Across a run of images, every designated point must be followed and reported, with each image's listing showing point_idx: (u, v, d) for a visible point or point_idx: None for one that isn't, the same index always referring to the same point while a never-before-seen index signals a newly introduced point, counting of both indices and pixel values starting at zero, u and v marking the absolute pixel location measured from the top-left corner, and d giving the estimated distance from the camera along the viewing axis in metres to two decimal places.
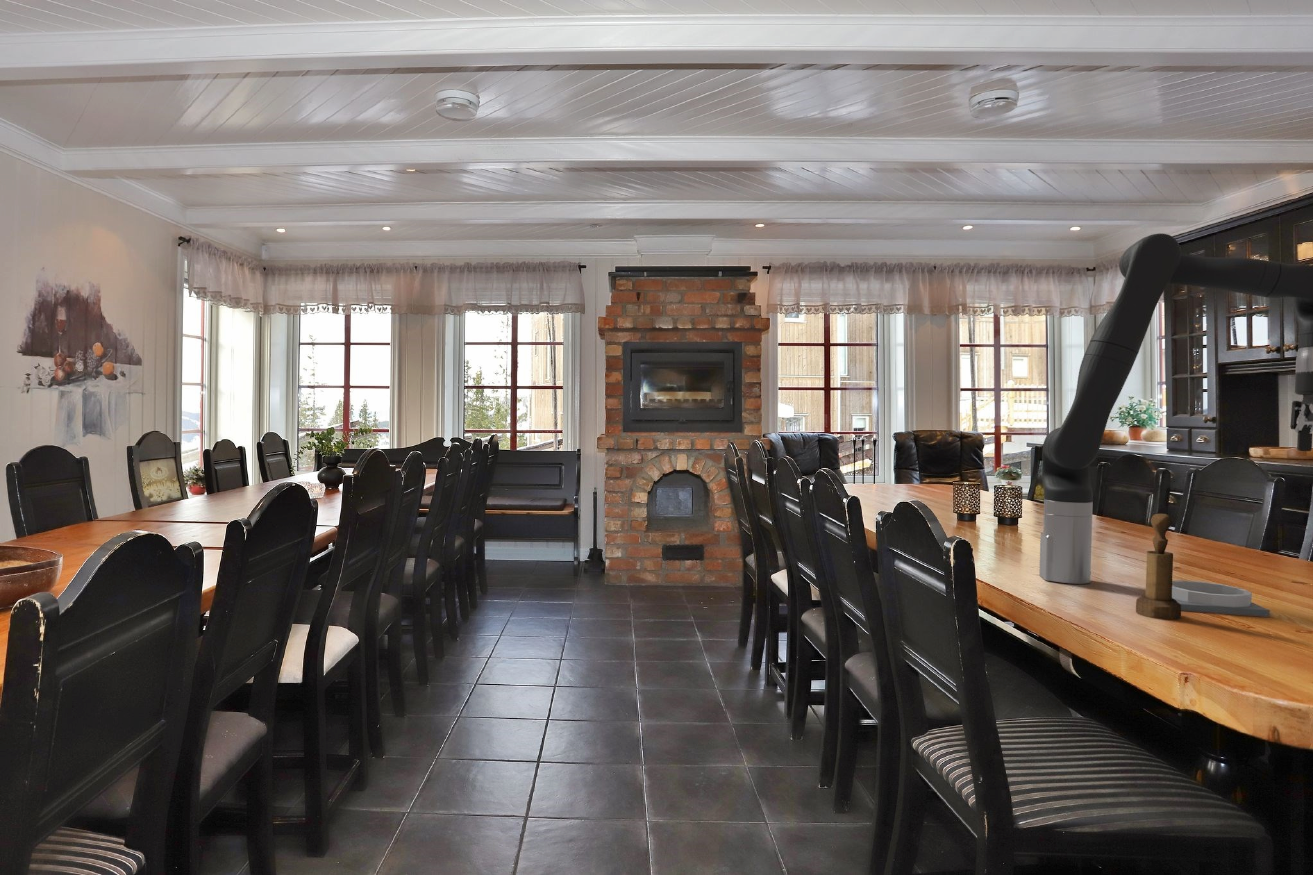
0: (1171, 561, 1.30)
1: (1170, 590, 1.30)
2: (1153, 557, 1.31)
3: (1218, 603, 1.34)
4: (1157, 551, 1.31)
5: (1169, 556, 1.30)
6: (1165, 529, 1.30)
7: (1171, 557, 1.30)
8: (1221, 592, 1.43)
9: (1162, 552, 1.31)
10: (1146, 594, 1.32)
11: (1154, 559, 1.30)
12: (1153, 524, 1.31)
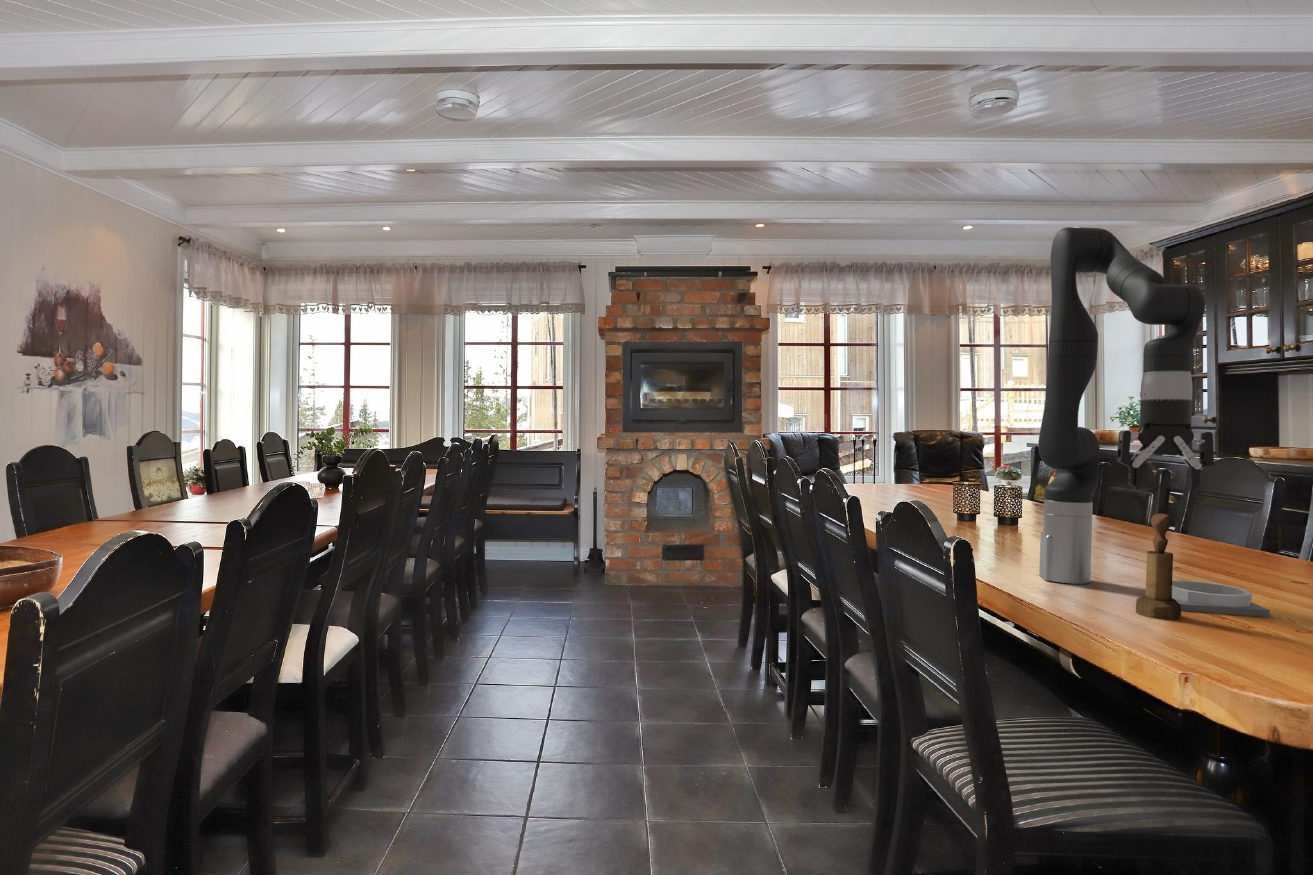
0: (1171, 561, 1.30)
1: (1170, 590, 1.30)
2: (1153, 557, 1.31)
3: (1218, 603, 1.34)
4: (1157, 551, 1.31)
5: (1169, 556, 1.30)
6: (1165, 529, 1.30)
7: (1171, 557, 1.30)
8: (1221, 592, 1.43)
9: (1162, 552, 1.31)
10: (1146, 594, 1.32)
11: (1154, 559, 1.30)
12: (1153, 524, 1.31)
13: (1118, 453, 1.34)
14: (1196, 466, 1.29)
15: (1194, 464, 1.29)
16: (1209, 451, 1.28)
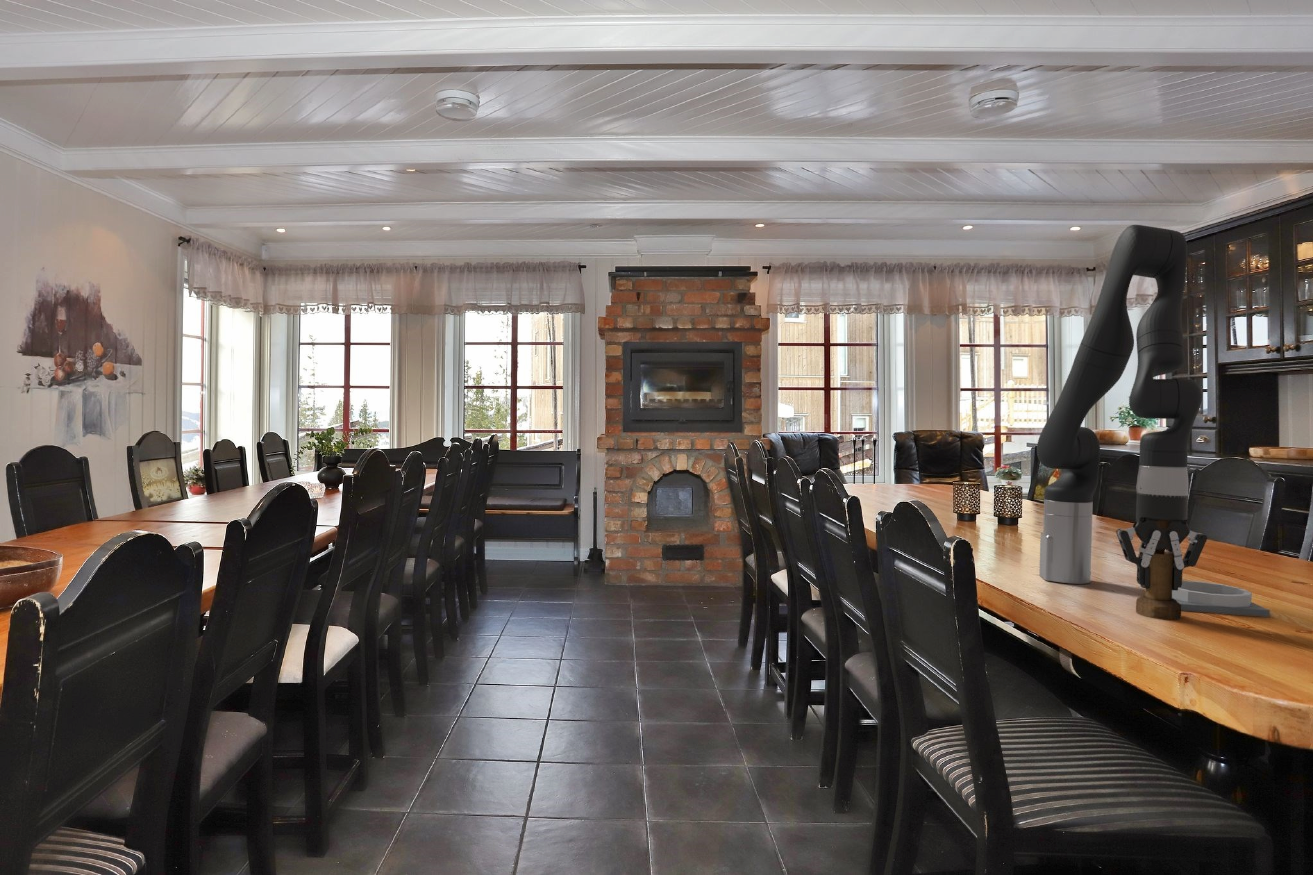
0: (1171, 561, 1.30)
1: (1170, 590, 1.30)
2: (1153, 557, 1.31)
3: (1218, 603, 1.34)
4: (1157, 551, 1.31)
5: (1169, 556, 1.30)
6: None
7: (1171, 557, 1.30)
8: (1221, 592, 1.43)
9: (1162, 552, 1.31)
10: (1146, 594, 1.32)
11: (1154, 559, 1.30)
12: None
13: (1124, 552, 1.34)
14: (1178, 566, 1.30)
15: (1176, 564, 1.30)
16: (1196, 553, 1.29)
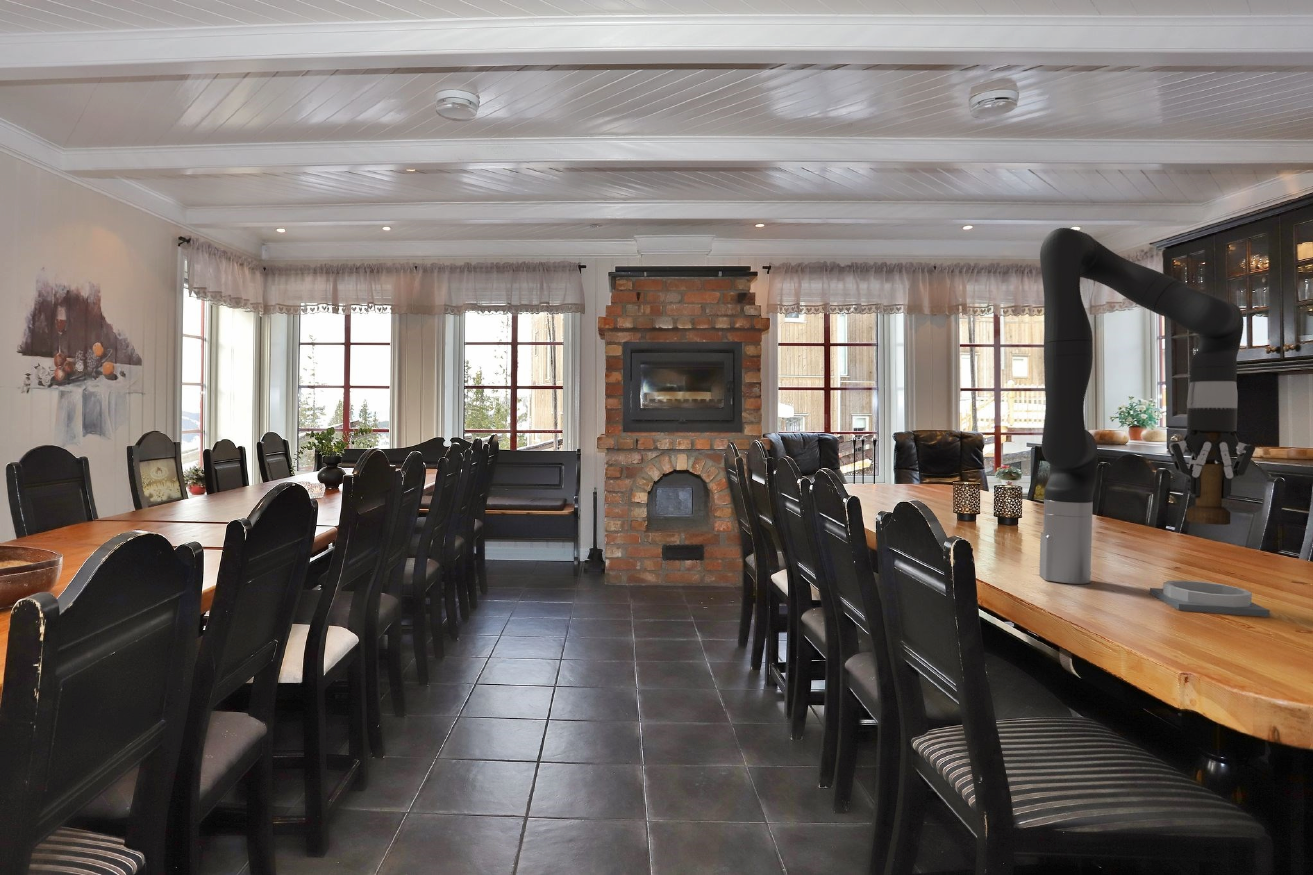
0: (1221, 471, 1.38)
1: (1220, 498, 1.38)
2: (1204, 467, 1.39)
3: (1218, 603, 1.34)
4: (1207, 462, 1.39)
5: (1219, 466, 1.38)
6: None
7: (1221, 467, 1.38)
8: (1221, 592, 1.43)
9: (1212, 463, 1.39)
10: (1197, 503, 1.40)
11: (1205, 469, 1.39)
12: None
13: (1175, 464, 1.42)
14: (1228, 475, 1.38)
15: (1226, 473, 1.38)
16: (1245, 462, 1.37)
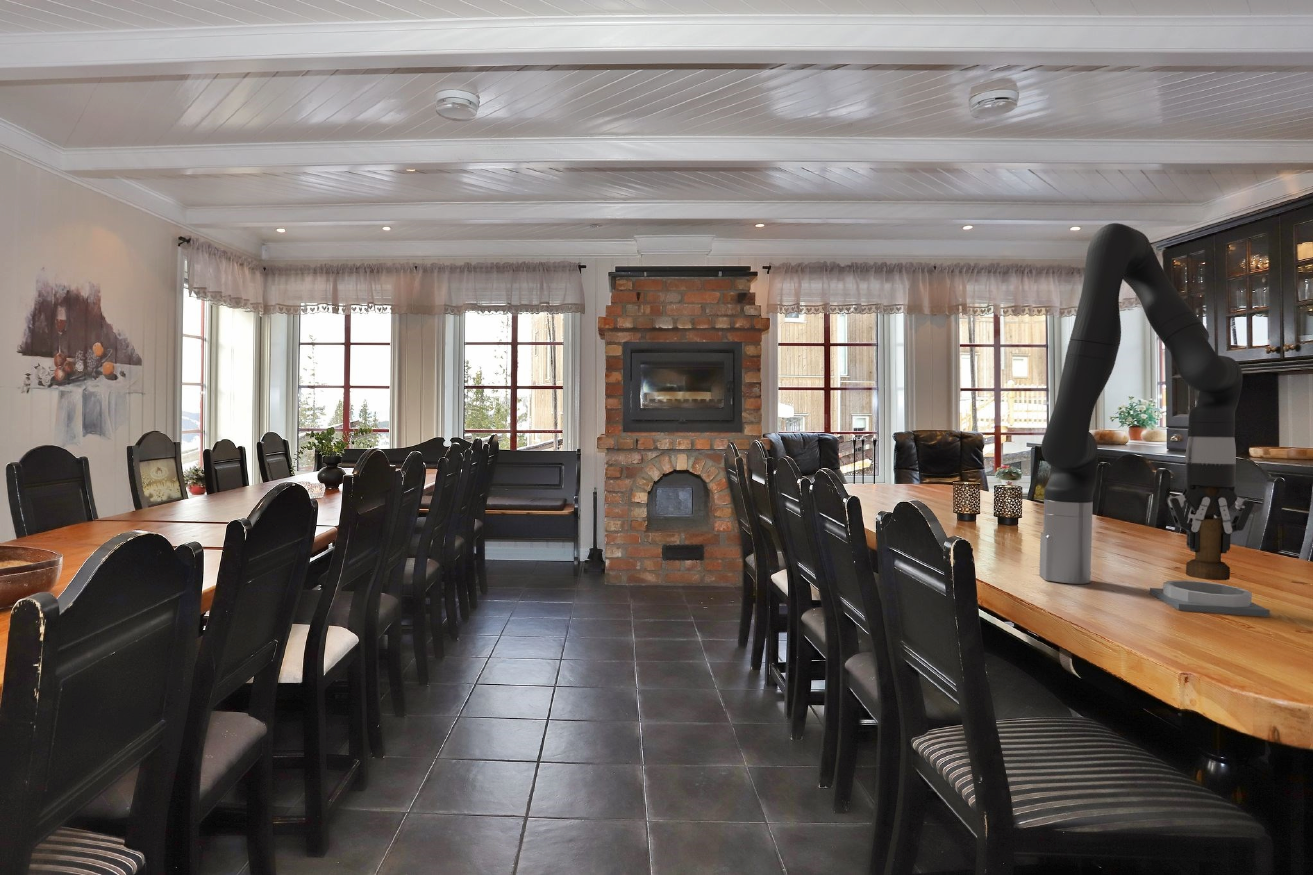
0: (1220, 526, 1.38)
1: (1219, 553, 1.38)
2: (1203, 522, 1.39)
3: (1218, 603, 1.34)
4: (1206, 517, 1.40)
5: (1218, 521, 1.38)
6: None
7: (1220, 522, 1.38)
8: (1221, 592, 1.43)
9: (1211, 518, 1.39)
10: (1196, 557, 1.40)
11: (1204, 524, 1.39)
12: None
13: (1174, 518, 1.42)
14: (1227, 530, 1.38)
15: (1225, 528, 1.38)
16: (1244, 518, 1.37)
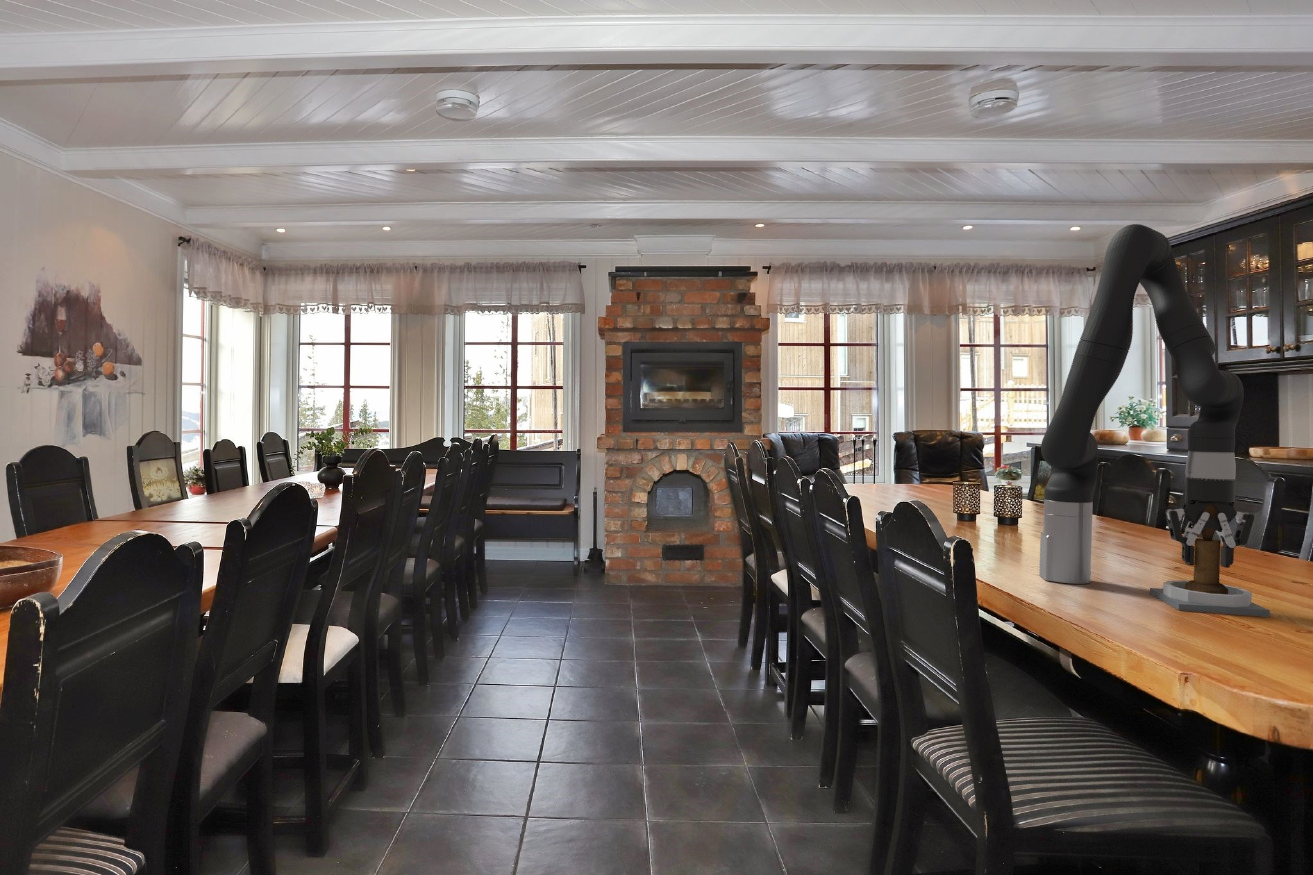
0: (1219, 547, 1.38)
1: (1218, 575, 1.38)
2: (1201, 544, 1.39)
3: (1218, 603, 1.34)
4: (1205, 538, 1.40)
5: (1217, 543, 1.38)
6: (1213, 517, 1.39)
7: (1219, 544, 1.38)
8: None
9: (1210, 539, 1.39)
10: (1194, 579, 1.40)
11: (1202, 546, 1.39)
12: None
13: (1170, 531, 1.42)
14: (1230, 545, 1.38)
15: (1228, 543, 1.38)
16: (1246, 532, 1.37)
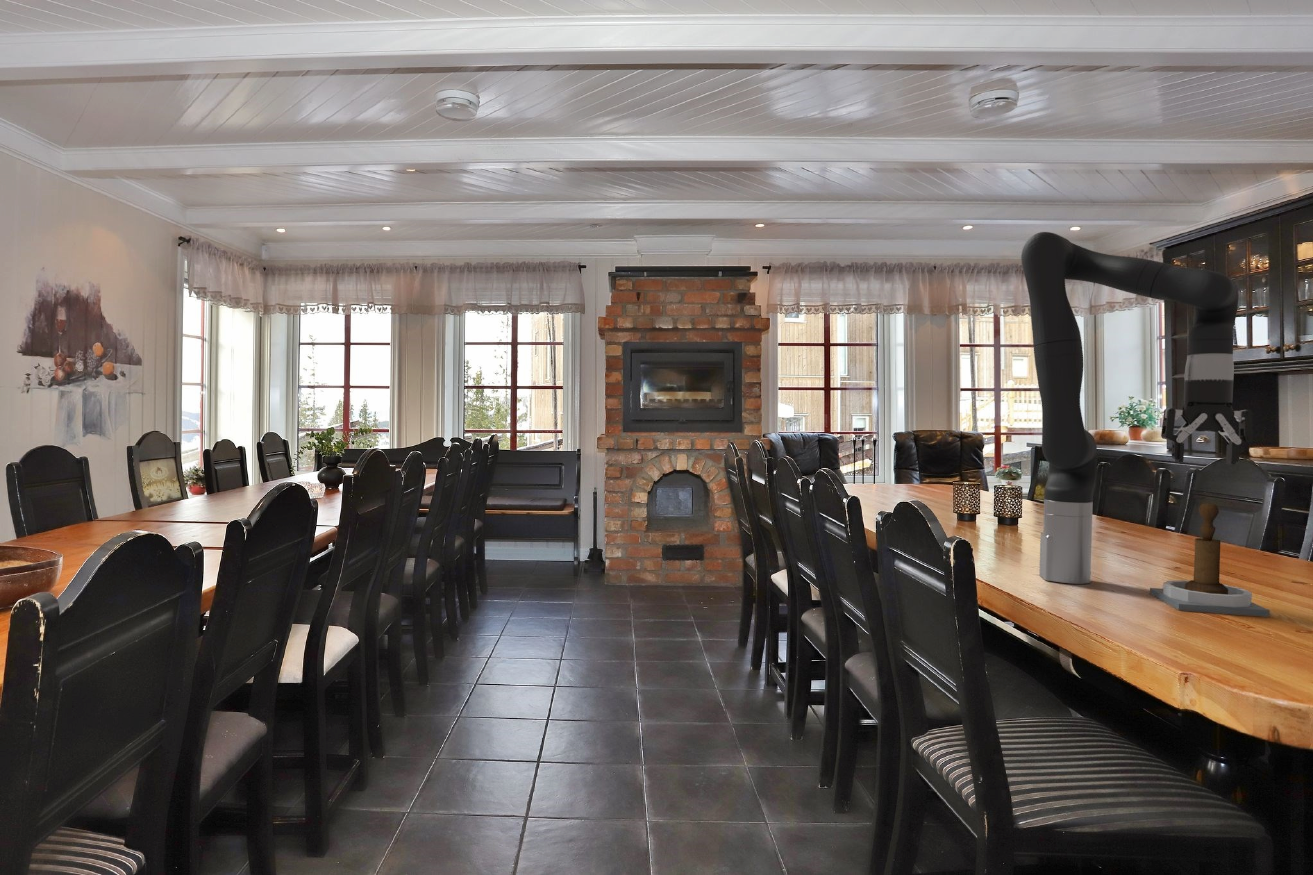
0: (1219, 547, 1.38)
1: (1218, 575, 1.38)
2: (1201, 543, 1.39)
3: (1218, 603, 1.34)
4: (1205, 538, 1.40)
5: (1217, 543, 1.38)
6: (1213, 517, 1.39)
7: (1219, 544, 1.38)
8: None
9: (1210, 539, 1.39)
10: (1194, 579, 1.40)
11: (1202, 546, 1.39)
12: (1201, 513, 1.40)
13: (1163, 429, 1.45)
14: (1236, 441, 1.40)
15: (1234, 439, 1.40)
16: (1249, 428, 1.40)
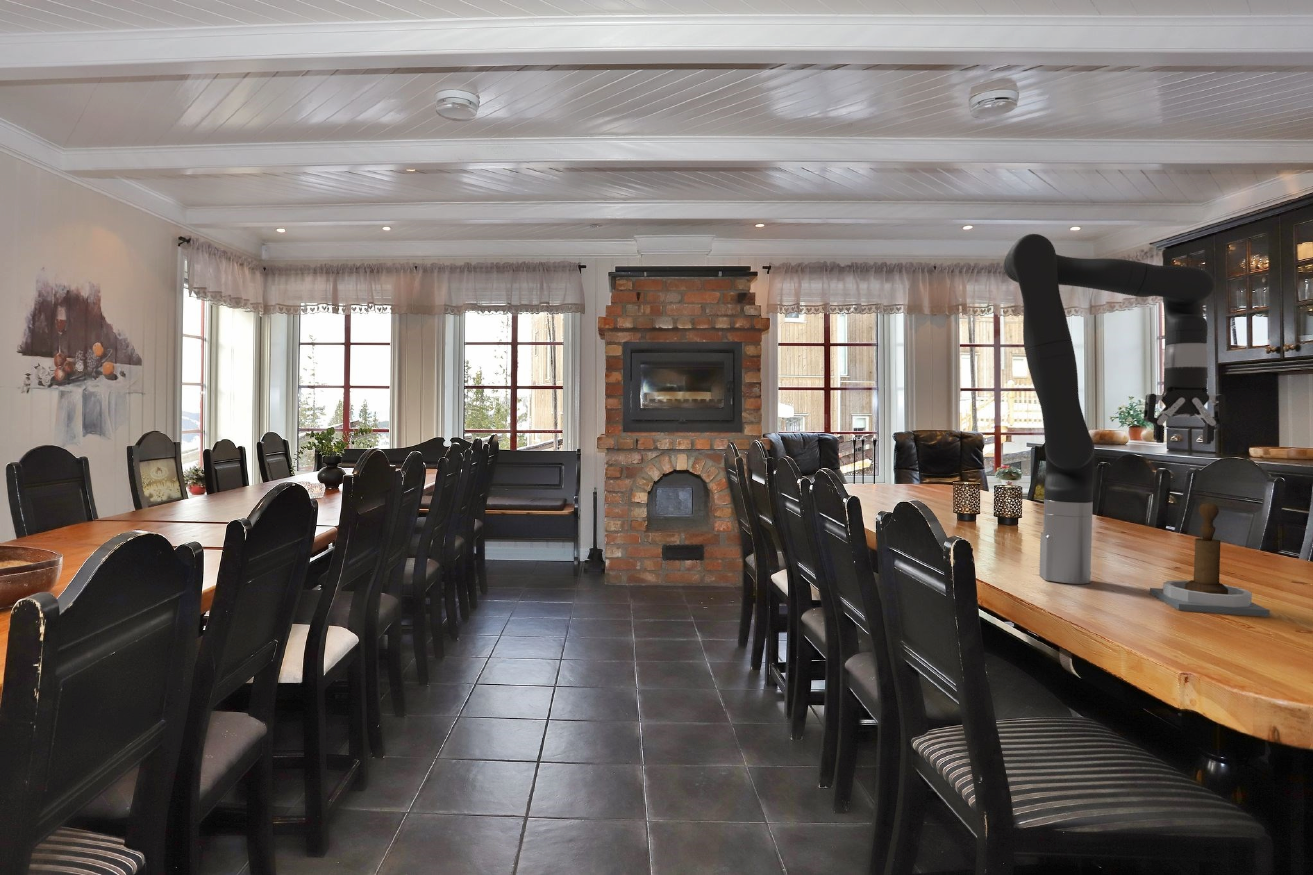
0: (1219, 547, 1.38)
1: (1218, 575, 1.38)
2: (1201, 543, 1.39)
3: (1218, 603, 1.34)
4: (1205, 538, 1.40)
5: (1217, 543, 1.38)
6: (1213, 517, 1.39)
7: (1219, 544, 1.38)
8: None
9: (1210, 539, 1.39)
10: (1194, 579, 1.40)
11: (1202, 546, 1.39)
12: (1201, 513, 1.40)
13: (1145, 413, 1.59)
14: (1211, 423, 1.54)
15: (1209, 421, 1.54)
16: (1222, 410, 1.53)
